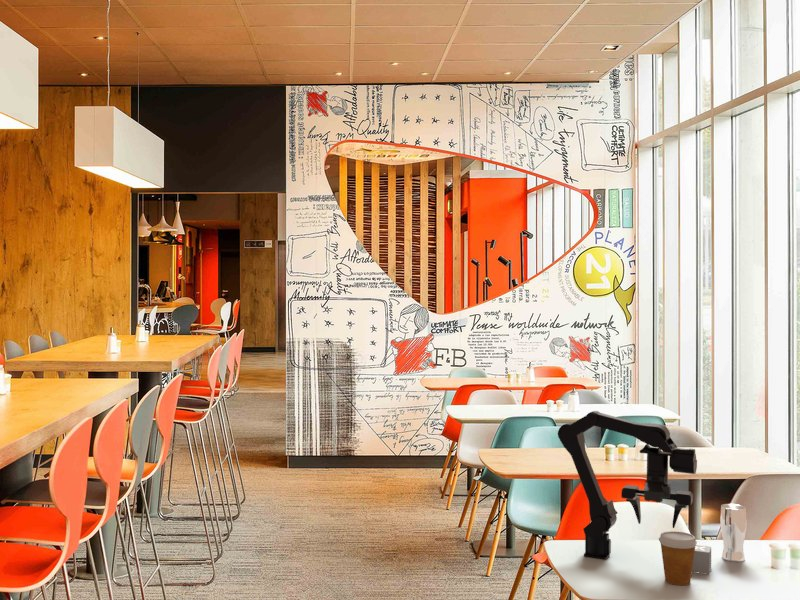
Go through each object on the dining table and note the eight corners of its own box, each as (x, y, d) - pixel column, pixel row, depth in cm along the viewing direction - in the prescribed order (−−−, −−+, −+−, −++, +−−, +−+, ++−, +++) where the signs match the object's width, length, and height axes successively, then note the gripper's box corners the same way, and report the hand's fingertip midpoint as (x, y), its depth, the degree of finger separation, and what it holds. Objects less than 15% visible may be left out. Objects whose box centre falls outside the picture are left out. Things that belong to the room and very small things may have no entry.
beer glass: (748, 563, 233) (748, 510, 233) (722, 561, 234) (722, 508, 234) (743, 556, 240) (743, 504, 240) (718, 554, 241) (718, 503, 241)
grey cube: (685, 571, 225) (686, 549, 225) (688, 565, 231) (688, 543, 231) (709, 574, 223) (709, 552, 223) (711, 568, 228) (711, 546, 228)
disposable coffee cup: (696, 578, 220) (696, 532, 220) (697, 589, 211) (697, 542, 211) (659, 574, 223) (659, 529, 223) (658, 585, 214) (658, 538, 214)
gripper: (618, 471, 228) (617, 528, 228) (689, 478, 220) (688, 537, 220) (625, 464, 239) (624, 518, 238) (693, 471, 231) (692, 527, 230)
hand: (656, 525), depth 232 cm, fingers open, 9 cm apart
